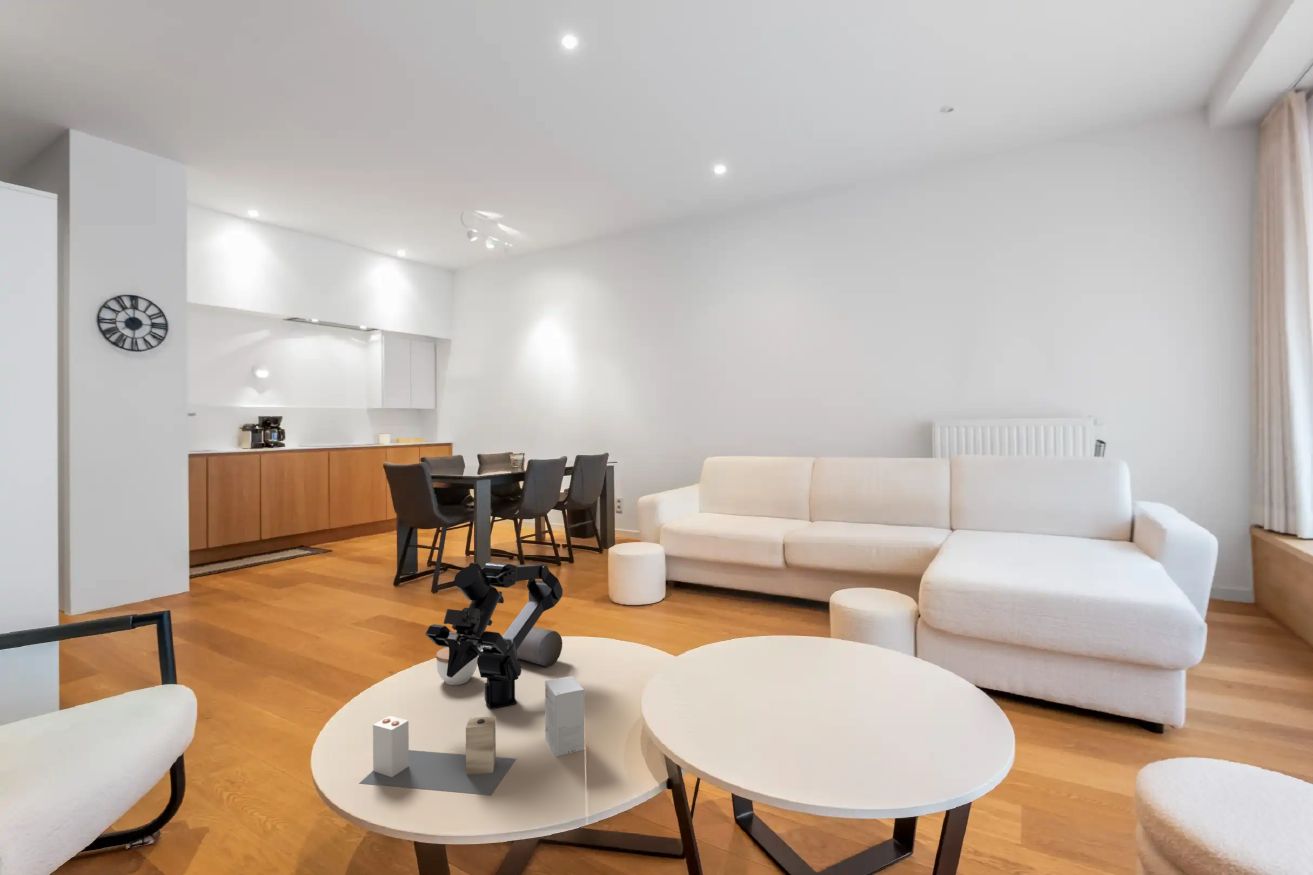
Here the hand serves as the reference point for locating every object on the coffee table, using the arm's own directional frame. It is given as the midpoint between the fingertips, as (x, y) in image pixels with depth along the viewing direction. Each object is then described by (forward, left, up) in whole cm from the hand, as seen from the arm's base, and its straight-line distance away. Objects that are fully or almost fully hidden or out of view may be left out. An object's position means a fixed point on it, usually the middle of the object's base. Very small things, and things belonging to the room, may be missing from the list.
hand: (449, 676), depth 126 cm
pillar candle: (-31, -29, -9) cm, 43 cm away
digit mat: (+3, +13, -14) cm, 19 cm away
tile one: (-4, +15, -13) cm, 20 cm away
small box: (-22, +14, -14) cm, 29 cm away
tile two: (+12, +8, -13) cm, 19 cm away
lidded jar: (-6, -31, -14) cm, 35 cm away
